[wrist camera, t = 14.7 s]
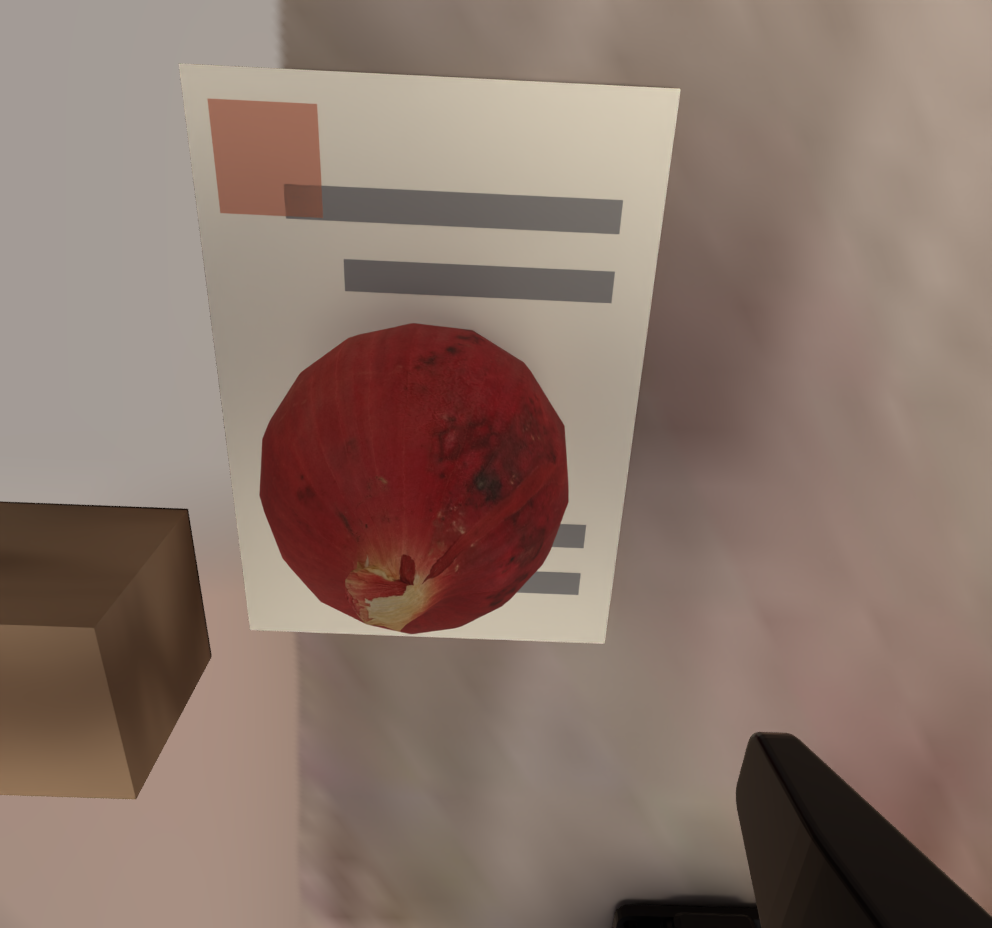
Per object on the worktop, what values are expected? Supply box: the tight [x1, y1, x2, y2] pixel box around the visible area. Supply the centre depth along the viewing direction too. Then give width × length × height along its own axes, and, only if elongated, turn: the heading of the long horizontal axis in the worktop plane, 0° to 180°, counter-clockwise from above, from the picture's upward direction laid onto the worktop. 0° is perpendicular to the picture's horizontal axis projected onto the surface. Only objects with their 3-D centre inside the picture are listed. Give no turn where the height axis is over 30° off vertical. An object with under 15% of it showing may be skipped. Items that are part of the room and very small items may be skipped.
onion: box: [259, 323, 569, 634], centre depth 14 cm, size 6×6×8 cm
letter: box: [179, 64, 681, 644], centre depth 18 cm, size 14×10×1 cm
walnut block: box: [0, 501, 212, 799], centre depth 18 cm, size 5×5×5 cm
